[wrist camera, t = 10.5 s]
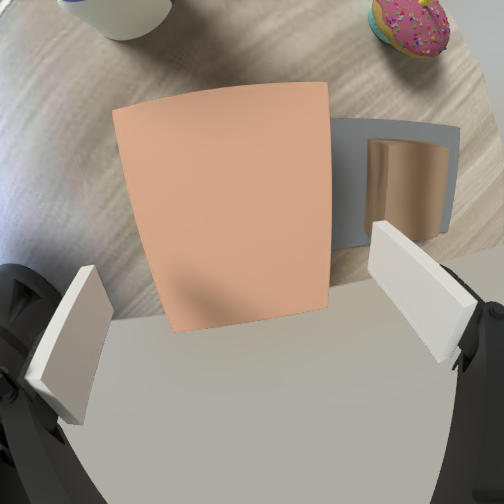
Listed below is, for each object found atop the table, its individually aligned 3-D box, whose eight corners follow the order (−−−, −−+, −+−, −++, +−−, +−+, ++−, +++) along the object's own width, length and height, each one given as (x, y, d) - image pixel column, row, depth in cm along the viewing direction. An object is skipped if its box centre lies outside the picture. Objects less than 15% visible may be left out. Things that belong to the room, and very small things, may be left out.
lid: (175, 311, 23) (172, 332, 21) (124, 109, 15) (111, 110, 13) (317, 288, 24) (327, 307, 22) (312, 84, 16) (327, 82, 14)
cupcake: (336, 12, 19) (408, -25, 9) (382, -20, 17) (454, -51, 6) (392, 75, 23) (478, 77, 12) (430, 38, 20) (510, 34, 10)
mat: (328, 248, 31) (329, 250, 31) (327, 118, 25) (329, 118, 24) (445, 229, 33) (447, 231, 32) (457, 127, 26) (460, 127, 25)
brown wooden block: (363, 229, 30) (381, 246, 27) (367, 138, 25) (388, 145, 22) (418, 222, 31) (437, 236, 27) (426, 140, 26) (449, 148, 22)
